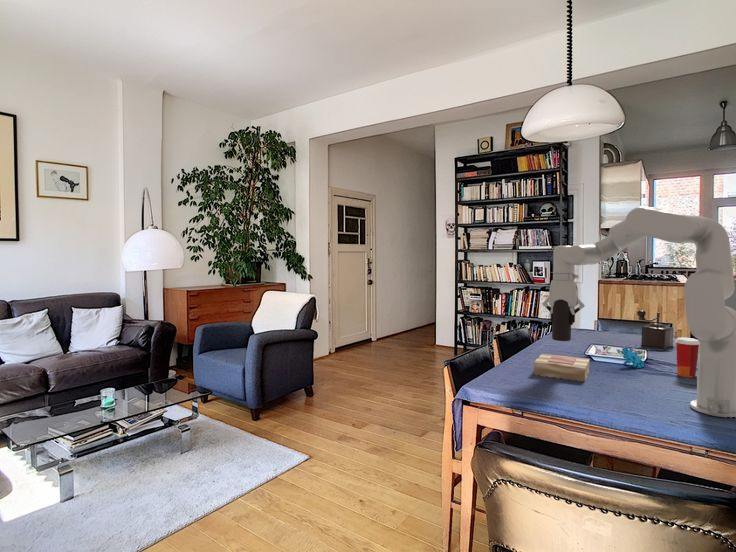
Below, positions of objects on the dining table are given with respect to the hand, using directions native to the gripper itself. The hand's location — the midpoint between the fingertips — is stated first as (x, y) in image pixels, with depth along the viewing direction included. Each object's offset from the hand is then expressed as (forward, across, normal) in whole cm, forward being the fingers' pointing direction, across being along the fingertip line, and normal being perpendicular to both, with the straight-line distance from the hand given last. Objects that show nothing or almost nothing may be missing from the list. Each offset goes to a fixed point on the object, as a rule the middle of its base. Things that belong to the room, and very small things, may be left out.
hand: (562, 323), depth 175 cm
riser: (+20, 0, 0) cm, 20 cm away
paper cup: (+20, -41, -20) cm, 50 cm away
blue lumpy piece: (+20, -24, -26) cm, 40 cm away
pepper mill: (+20, -31, -73) cm, 82 cm away
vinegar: (+7, 0, 0) cm, 7 cm away
